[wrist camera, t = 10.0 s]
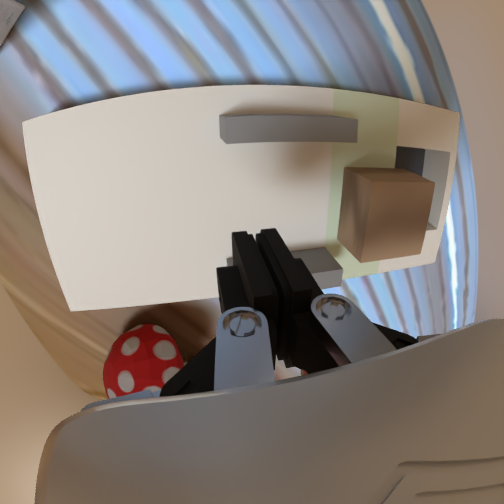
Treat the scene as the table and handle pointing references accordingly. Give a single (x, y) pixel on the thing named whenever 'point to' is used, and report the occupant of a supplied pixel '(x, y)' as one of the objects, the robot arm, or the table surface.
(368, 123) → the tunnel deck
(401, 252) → the walnut block
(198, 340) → the table surface
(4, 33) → the syrup box
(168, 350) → the decorative mushroom
